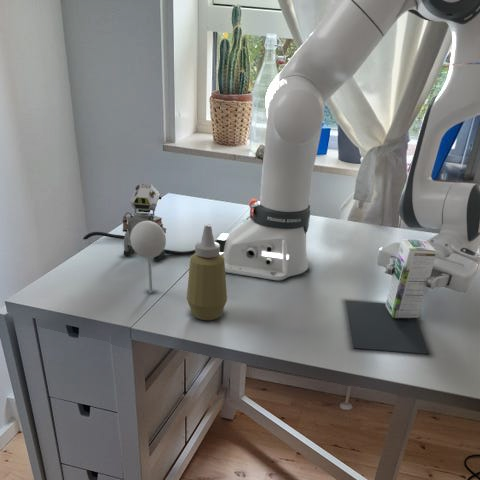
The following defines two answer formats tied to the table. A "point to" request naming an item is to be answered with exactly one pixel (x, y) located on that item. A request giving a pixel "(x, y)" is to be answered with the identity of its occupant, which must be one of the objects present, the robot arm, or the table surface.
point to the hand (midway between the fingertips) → (409, 277)
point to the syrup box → (410, 278)
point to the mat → (383, 329)
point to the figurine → (141, 214)
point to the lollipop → (148, 242)
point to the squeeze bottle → (207, 279)
